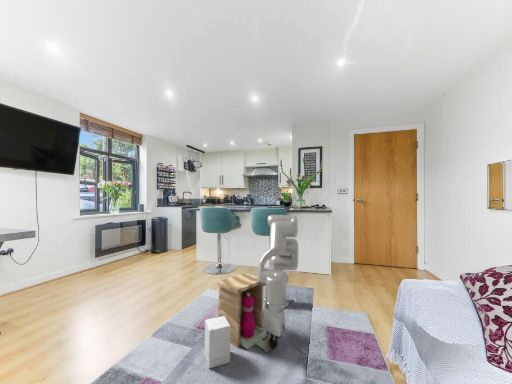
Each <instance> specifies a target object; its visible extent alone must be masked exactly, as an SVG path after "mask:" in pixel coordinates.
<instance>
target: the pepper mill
mask: <svg viewBox="0 0 512 384" xmlns="http://www.w3.org/2000/svg"><path fill="white" fill-rule="evenodd" d="M242 304H243V310H244V315H243V318H242V320H241V323H240V327H241V329H242V330H241V335H242V337H244V338H251V337H253V336H254V328H255V321H254V319H253V316H252V310H253V305H254V298H253V297H252V296H251V295H250V293H247V295H246V296H244V297H243V299H242Z"/></svg>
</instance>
